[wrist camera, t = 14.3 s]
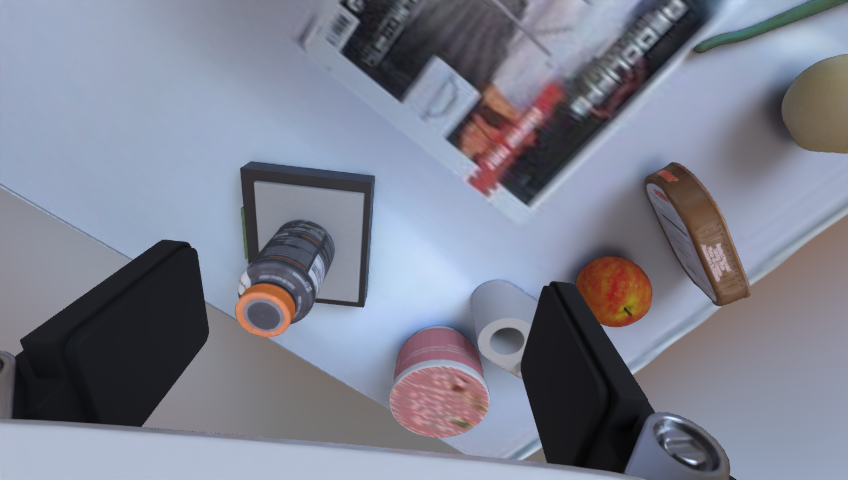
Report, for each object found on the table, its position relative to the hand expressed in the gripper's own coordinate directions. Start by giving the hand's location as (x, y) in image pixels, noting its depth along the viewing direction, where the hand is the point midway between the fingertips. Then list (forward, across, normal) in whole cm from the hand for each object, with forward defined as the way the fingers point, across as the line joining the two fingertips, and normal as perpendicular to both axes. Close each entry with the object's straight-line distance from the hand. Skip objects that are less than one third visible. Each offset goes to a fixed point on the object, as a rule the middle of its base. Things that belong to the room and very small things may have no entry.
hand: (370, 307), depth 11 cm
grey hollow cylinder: (+28, -17, +21) cm, 39 cm away
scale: (+28, +9, +12) cm, 32 cm away
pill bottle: (+26, +9, +12) cm, 30 cm away
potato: (+28, -34, -7) cm, 45 cm away
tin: (+28, -27, +6) cm, 40 cm away
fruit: (+28, -22, +13) cm, 38 cm away
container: (+28, -6, +26) cm, 39 cm away
